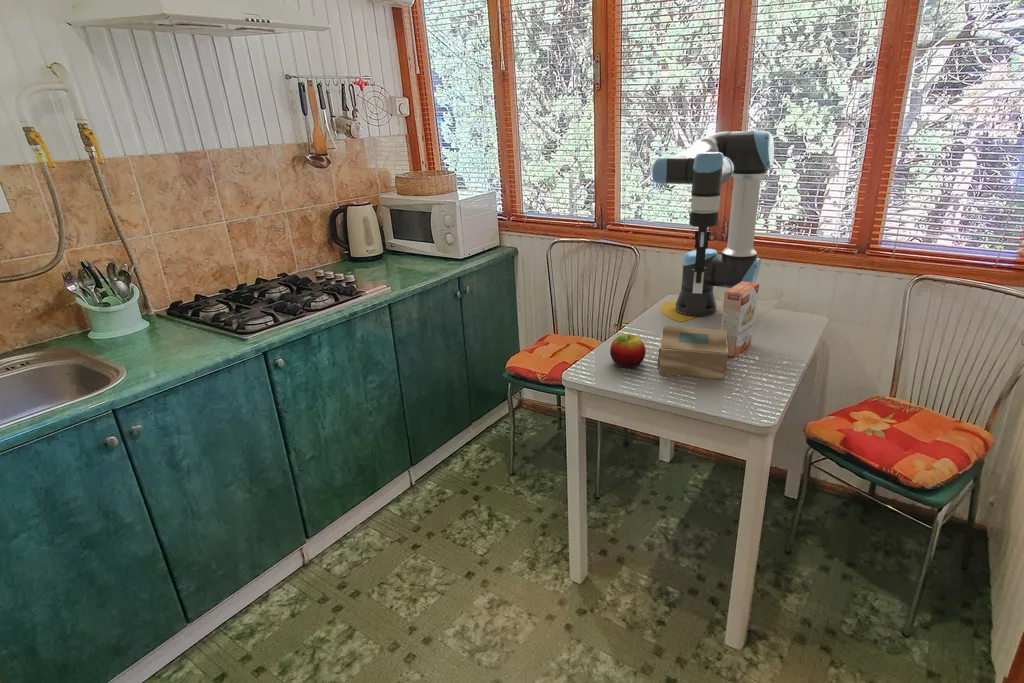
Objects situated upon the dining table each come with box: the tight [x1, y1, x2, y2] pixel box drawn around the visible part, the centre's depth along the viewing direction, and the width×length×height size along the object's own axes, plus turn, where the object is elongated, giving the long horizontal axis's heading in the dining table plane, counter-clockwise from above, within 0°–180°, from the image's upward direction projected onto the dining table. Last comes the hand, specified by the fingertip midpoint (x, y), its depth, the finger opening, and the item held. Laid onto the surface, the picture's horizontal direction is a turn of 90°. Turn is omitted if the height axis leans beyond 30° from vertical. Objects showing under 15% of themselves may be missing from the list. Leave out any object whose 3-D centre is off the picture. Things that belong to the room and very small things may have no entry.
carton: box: [657, 332, 729, 381], centre depth 170 cm, size 14×19×8 cm
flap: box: [661, 325, 727, 353], centre depth 163 cm, size 7×18×1 cm
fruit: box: [609, 333, 647, 369], centre depth 174 cm, size 11×11×10 cm
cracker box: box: [720, 281, 760, 358], centre depth 179 cm, size 14×6×21 cm, turn 138°
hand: (697, 292), depth 166 cm, fingers closed
